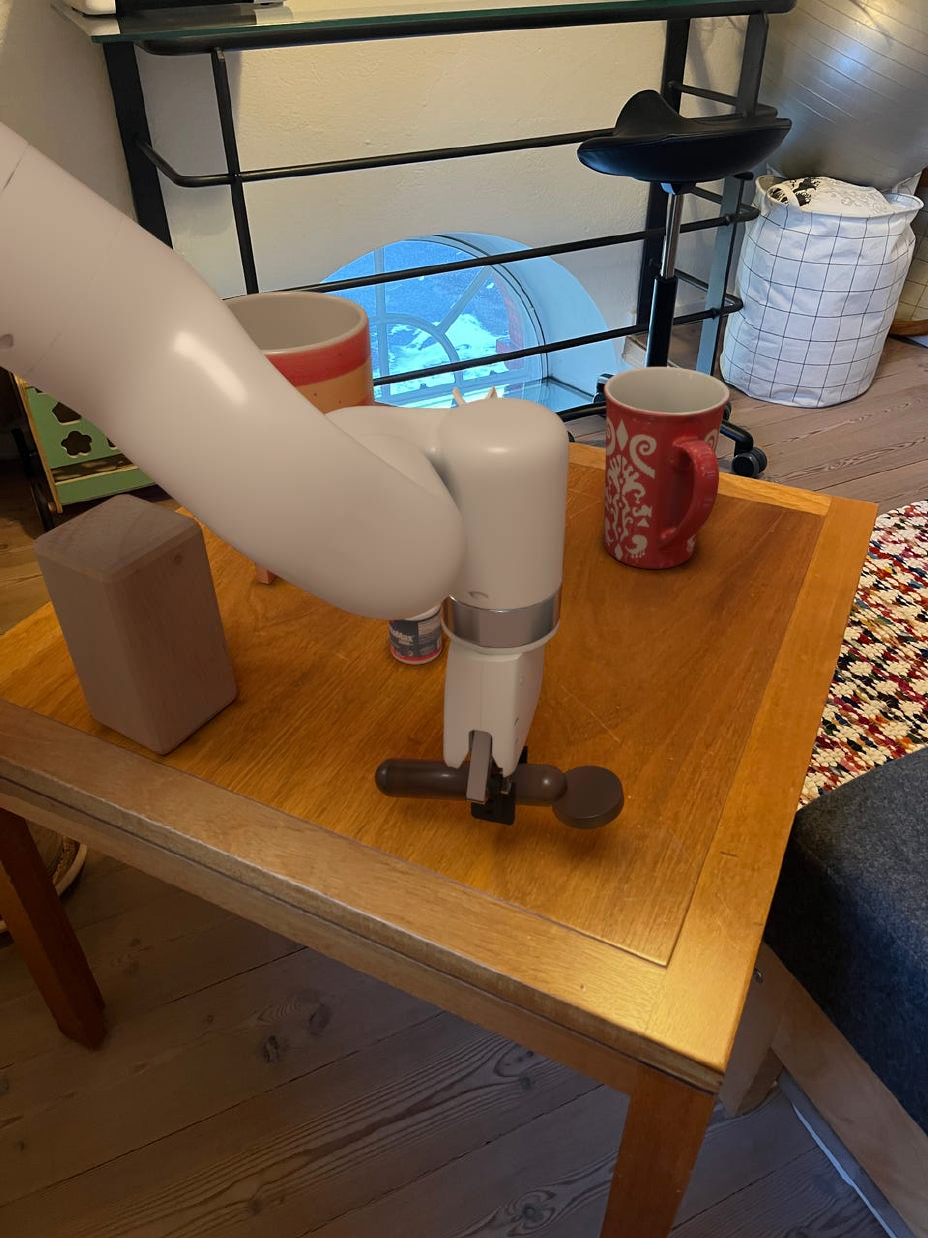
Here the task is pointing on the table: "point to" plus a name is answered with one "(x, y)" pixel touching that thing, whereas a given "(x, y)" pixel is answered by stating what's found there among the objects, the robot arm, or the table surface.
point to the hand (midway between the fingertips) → (499, 799)
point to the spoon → (572, 795)
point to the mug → (660, 462)
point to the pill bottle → (417, 637)
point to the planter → (312, 348)
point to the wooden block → (139, 619)
